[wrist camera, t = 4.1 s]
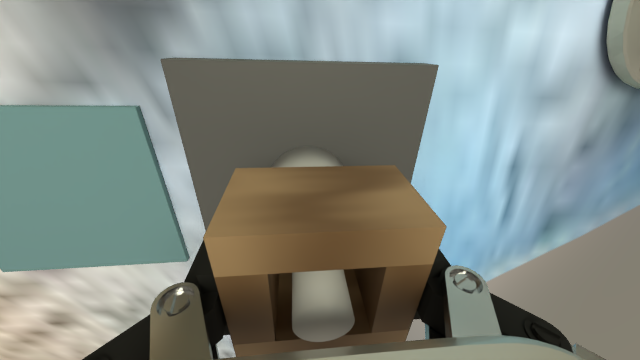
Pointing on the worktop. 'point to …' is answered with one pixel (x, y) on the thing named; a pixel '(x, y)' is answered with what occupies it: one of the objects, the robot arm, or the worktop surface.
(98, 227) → the mat
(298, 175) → the walnut link
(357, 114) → the stand
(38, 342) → the worktop surface
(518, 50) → the worktop surface
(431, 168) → the worktop surface
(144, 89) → the worktop surface
